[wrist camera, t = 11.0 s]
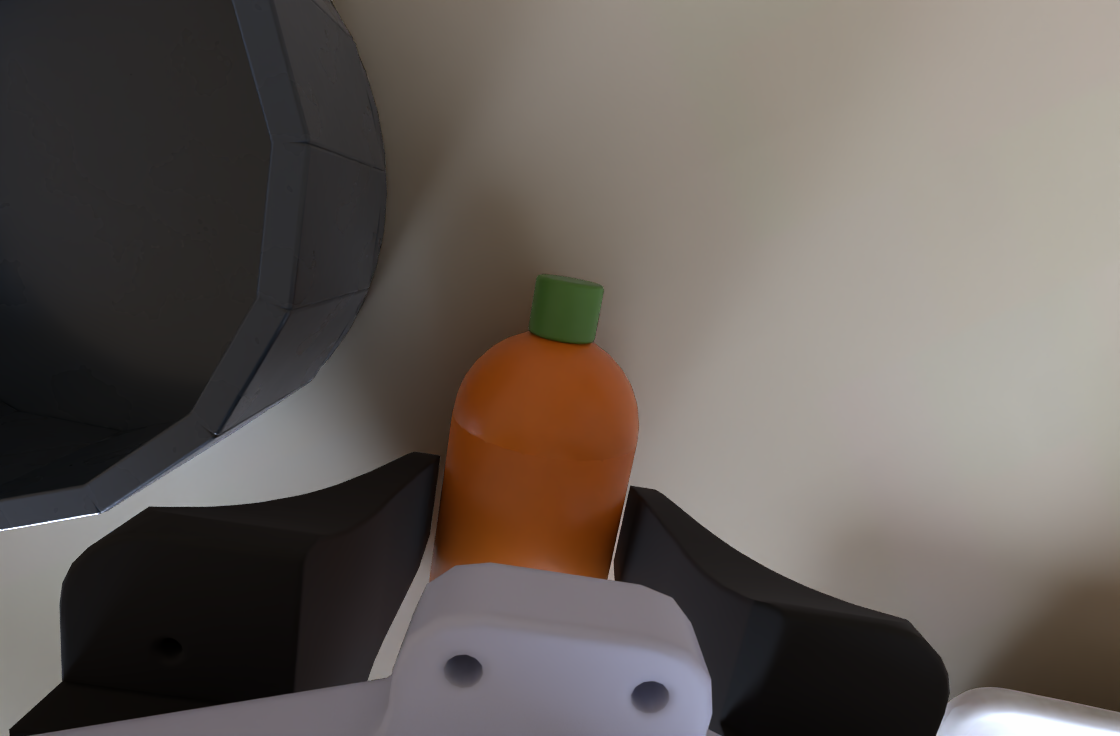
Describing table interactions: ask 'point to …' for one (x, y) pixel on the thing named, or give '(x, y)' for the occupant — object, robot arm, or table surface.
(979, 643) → the table surface
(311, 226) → the pan
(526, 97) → the table surface
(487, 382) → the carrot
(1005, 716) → the tray
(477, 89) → the table surface
